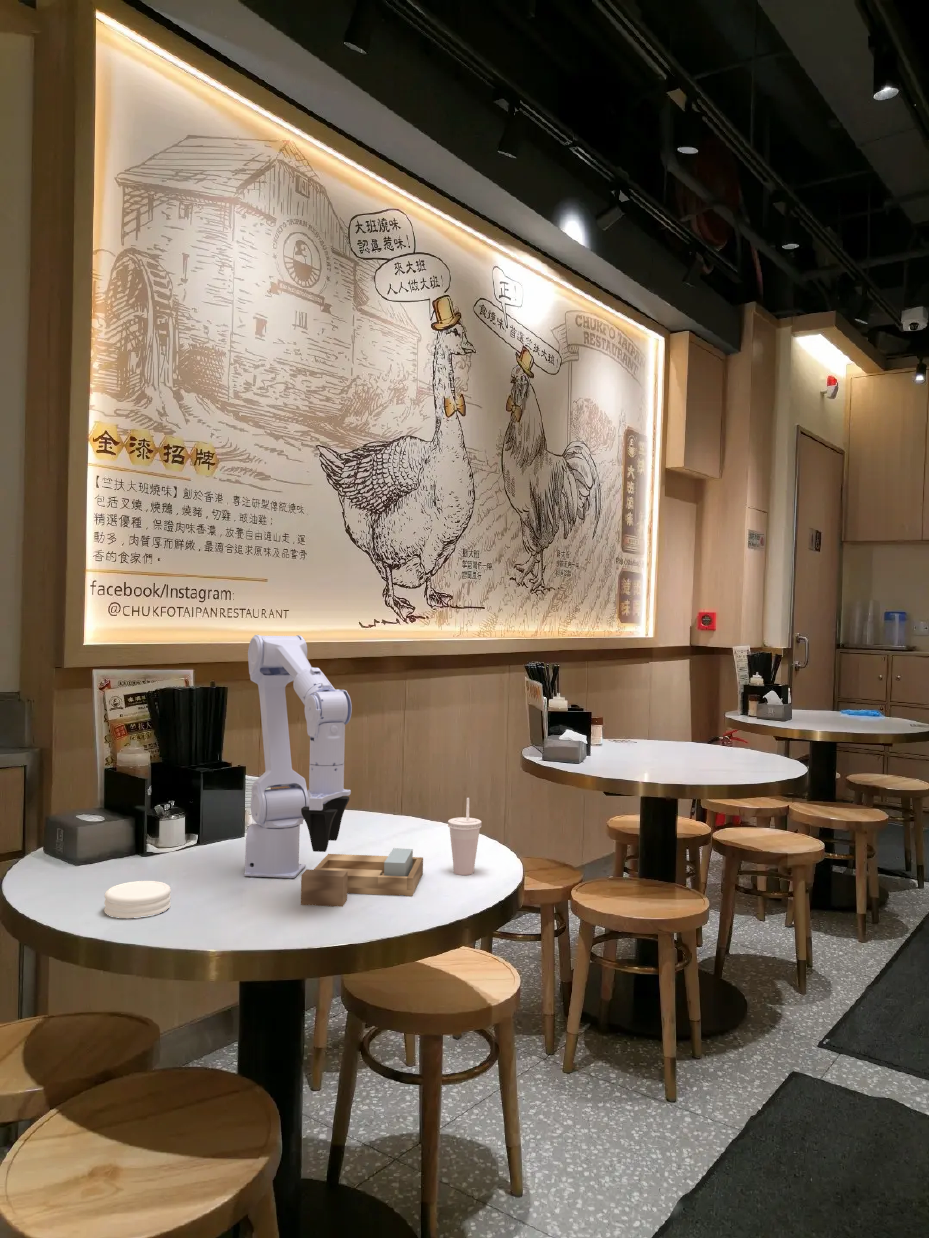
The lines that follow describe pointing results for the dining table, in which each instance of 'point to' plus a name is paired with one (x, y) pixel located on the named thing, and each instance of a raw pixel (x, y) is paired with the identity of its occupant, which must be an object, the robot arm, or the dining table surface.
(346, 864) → the jig
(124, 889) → the coaster
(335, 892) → the brown wooden block
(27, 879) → the dining table surface
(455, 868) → the smoothie
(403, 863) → the grey square post
